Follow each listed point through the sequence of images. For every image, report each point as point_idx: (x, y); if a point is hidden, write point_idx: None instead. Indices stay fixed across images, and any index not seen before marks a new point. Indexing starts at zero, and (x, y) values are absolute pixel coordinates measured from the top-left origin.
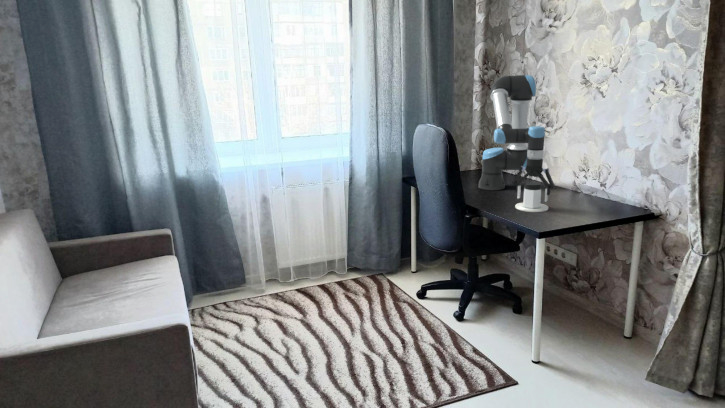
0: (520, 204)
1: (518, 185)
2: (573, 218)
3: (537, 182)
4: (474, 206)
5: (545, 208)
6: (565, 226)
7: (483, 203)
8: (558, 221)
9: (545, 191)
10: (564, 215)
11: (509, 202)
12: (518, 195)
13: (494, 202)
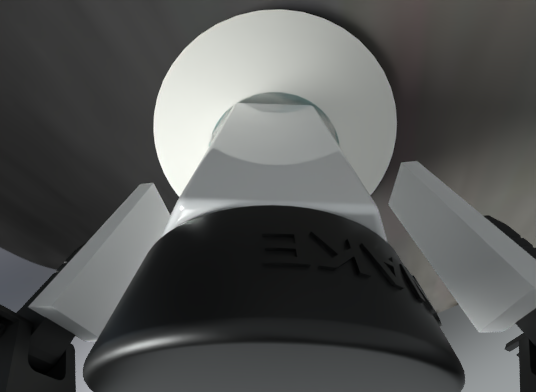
0: (187, 159)
1: (68, 334)
2: (523, 223)
3: (352, 365)
4: (51, 264)
5: (374, 163)
6: (451, 301)
7: (10, 212)
8: (432, 276)
9: (453, 292)
10: (484, 201)
11: (62, 103)
12: (158, 239)
13: (12, 164)
